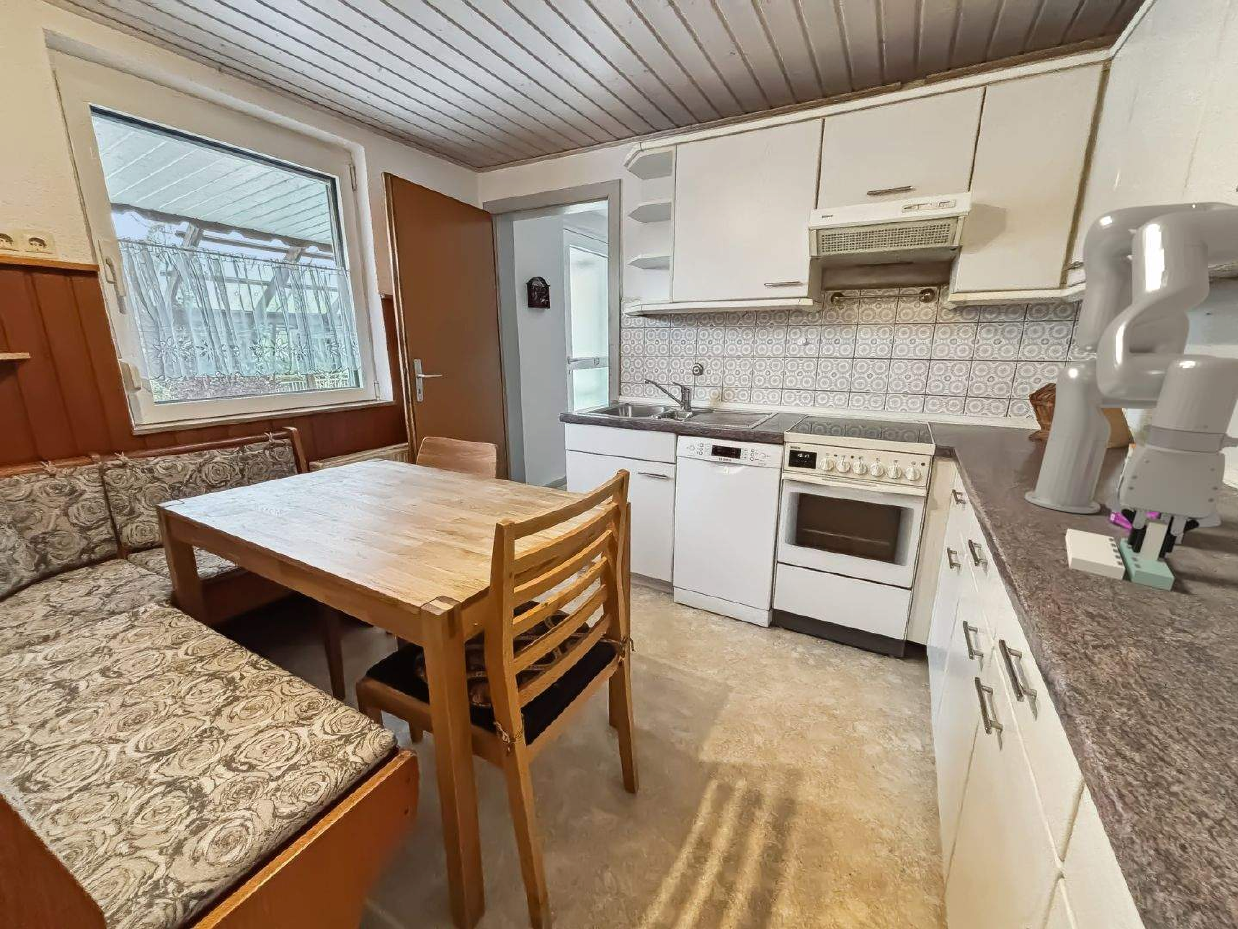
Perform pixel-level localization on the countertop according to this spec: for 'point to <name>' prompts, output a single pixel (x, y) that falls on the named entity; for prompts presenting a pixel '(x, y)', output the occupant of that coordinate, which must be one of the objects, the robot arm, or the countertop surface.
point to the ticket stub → (1148, 557)
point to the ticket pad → (1094, 554)
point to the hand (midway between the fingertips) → (1147, 552)
